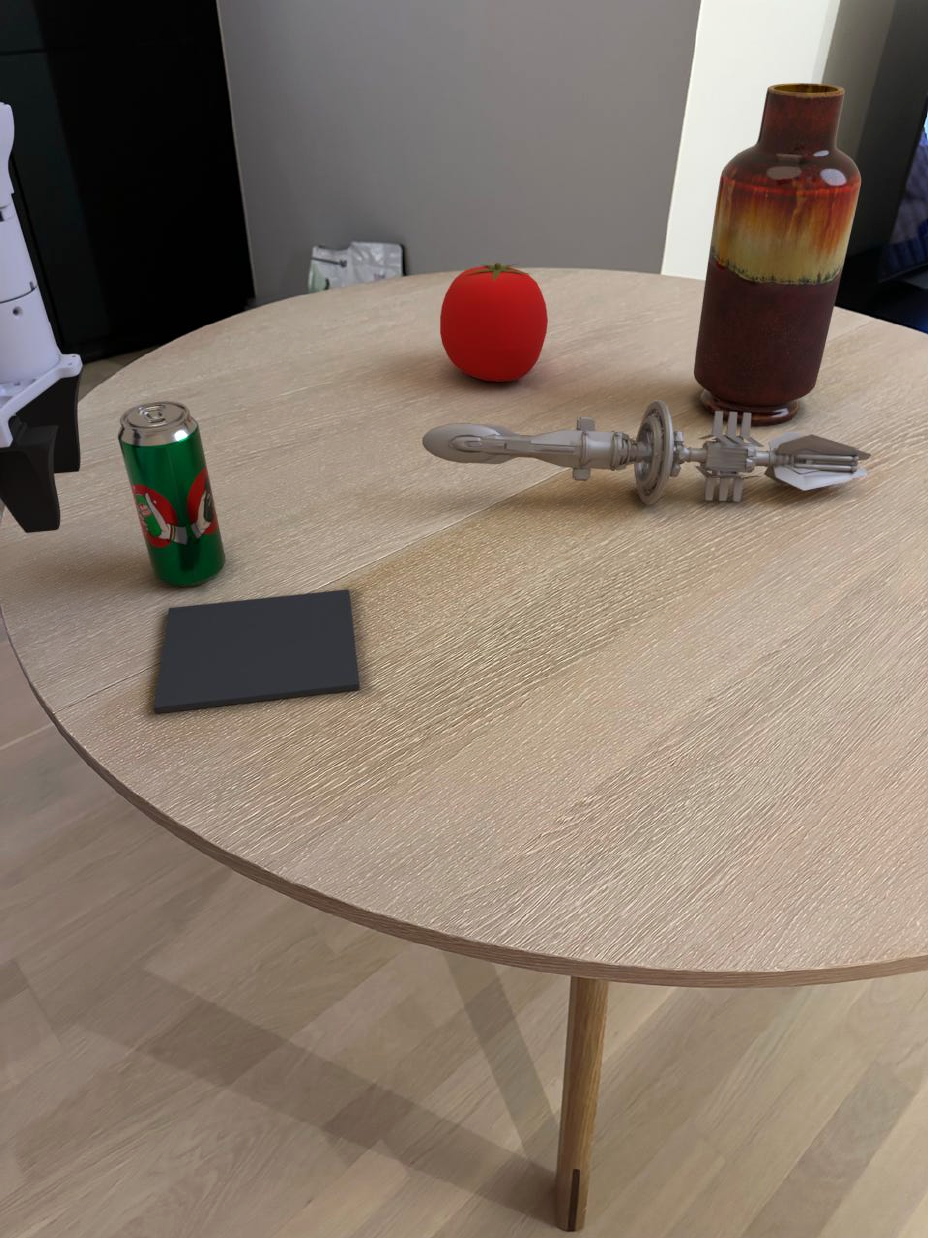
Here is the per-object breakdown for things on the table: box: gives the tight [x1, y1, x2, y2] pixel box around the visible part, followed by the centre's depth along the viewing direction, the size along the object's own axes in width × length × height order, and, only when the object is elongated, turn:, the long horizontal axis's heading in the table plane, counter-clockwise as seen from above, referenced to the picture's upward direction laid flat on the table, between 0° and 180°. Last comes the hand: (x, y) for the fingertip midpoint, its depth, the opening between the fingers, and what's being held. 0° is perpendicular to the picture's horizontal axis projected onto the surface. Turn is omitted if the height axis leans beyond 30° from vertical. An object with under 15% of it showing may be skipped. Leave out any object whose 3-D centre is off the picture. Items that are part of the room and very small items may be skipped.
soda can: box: [117, 400, 226, 588], centre depth 63 cm, size 5×5×12 cm
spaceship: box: [421, 399, 872, 506], centre depth 71 cm, size 8×35×8 cm
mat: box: [153, 588, 361, 714], centre depth 59 cm, size 12×10×1 cm
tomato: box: [439, 262, 549, 383], centre depth 91 cm, size 10×11×11 cm
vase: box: [693, 82, 862, 426], centre depth 79 cm, size 11×11×26 cm
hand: (54, 498), depth 61 cm, fingers open, 7 cm apart
